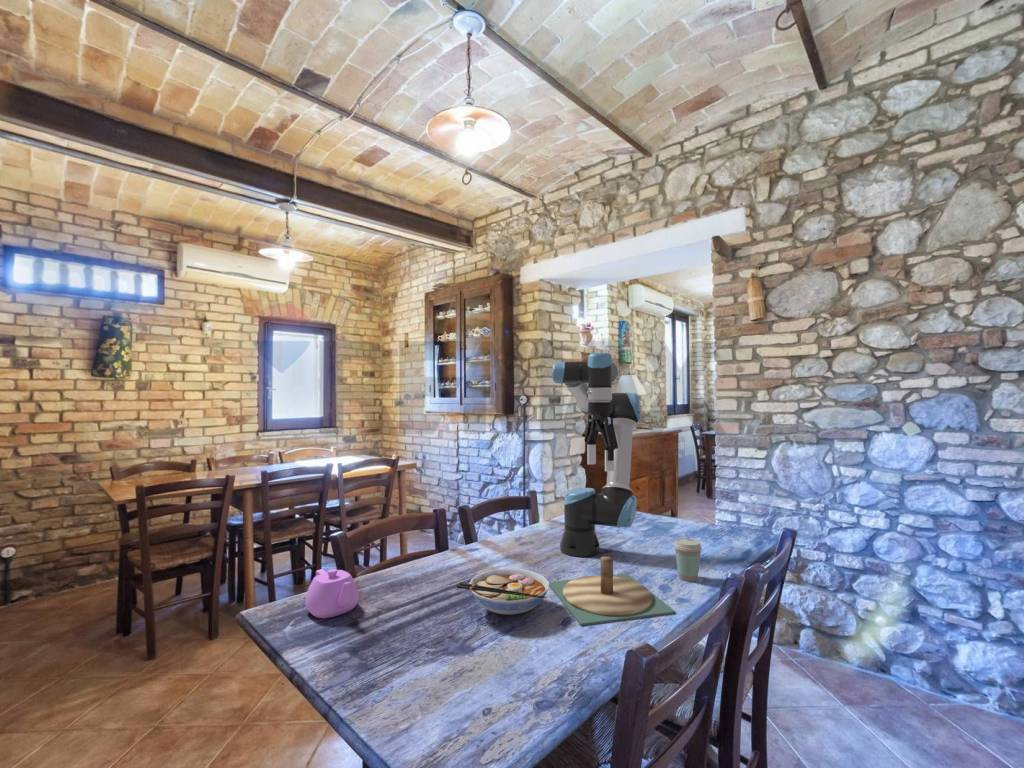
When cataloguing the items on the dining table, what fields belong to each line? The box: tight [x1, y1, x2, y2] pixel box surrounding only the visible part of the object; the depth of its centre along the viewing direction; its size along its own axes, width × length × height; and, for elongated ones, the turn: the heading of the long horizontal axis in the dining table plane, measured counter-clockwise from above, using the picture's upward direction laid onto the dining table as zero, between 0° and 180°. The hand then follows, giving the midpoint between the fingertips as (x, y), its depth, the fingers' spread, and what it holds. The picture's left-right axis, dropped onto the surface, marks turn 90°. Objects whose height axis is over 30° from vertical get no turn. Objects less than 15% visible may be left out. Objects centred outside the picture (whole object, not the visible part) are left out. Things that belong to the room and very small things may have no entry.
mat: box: [549, 573, 676, 627], centre depth 145 cm, size 28×28×1 cm
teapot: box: [305, 568, 360, 619], centre depth 138 cm, size 13×20×11 cm
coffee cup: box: [673, 537, 702, 583], centre depth 160 cm, size 9×8×12 cm
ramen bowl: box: [456, 567, 550, 616], centre depth 138 cm, size 25×23×8 cm
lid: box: [563, 556, 652, 616], centre depth 145 cm, size 26×26×11 cm
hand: (600, 467), depth 156 cm, fingers open, 13 cm apart
